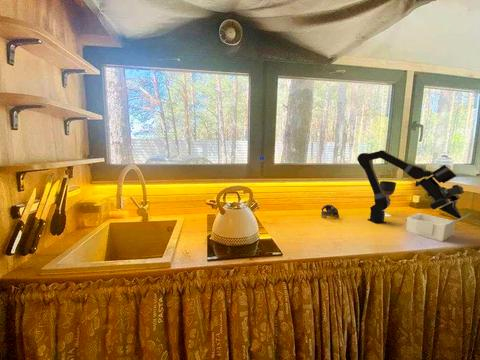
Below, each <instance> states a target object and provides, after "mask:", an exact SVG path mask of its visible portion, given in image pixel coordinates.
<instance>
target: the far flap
mask: <svg viewBox="0 0 480 360" xmlns="http://www.w3.org/2000/svg"><path fill="white" fill-rule="evenodd" d="M471 215H472V213H470V212H469V213H468V214H466V215H463V216H461V218H459V219H458V218H456V219H455V220H453V222H451V223H449V224H447V225H445V226H448V225H450V224H452V223H454V222H455V223H456V222H459V221H460V220H462V219H464V218H466V217H468V216H471Z"/></svg>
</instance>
